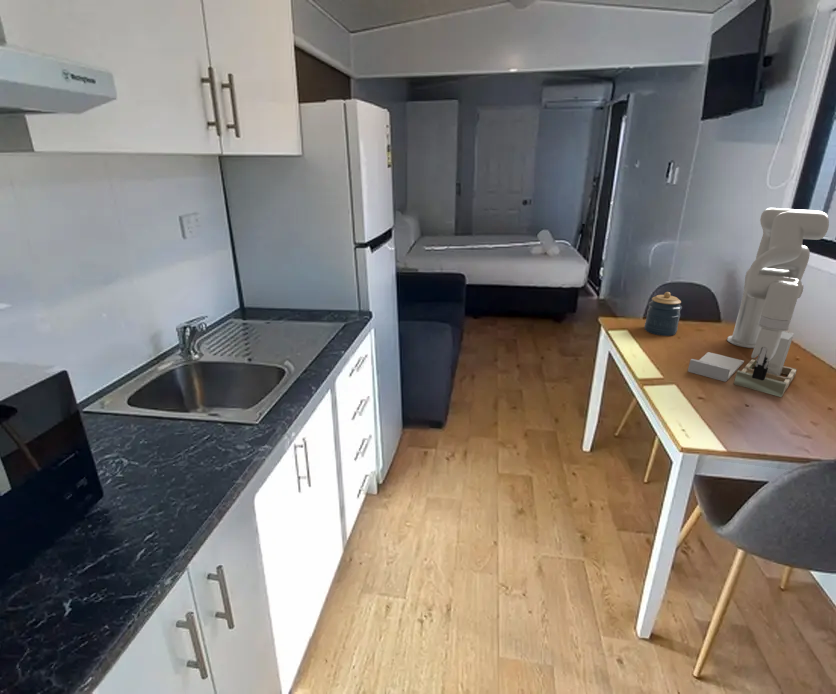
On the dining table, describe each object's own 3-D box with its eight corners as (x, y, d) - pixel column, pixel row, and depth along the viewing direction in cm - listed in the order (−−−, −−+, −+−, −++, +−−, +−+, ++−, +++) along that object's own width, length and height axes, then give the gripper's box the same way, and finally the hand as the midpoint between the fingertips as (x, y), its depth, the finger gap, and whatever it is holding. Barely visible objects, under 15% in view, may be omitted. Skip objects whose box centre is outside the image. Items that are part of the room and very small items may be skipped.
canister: (661, 338, 206) (669, 297, 199) (637, 328, 217) (644, 289, 210) (683, 334, 211) (692, 294, 204) (658, 325, 222) (666, 287, 215)
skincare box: (760, 369, 176) (772, 328, 170) (782, 374, 172) (795, 333, 166) (754, 376, 171) (766, 333, 165) (776, 381, 166) (789, 338, 160)
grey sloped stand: (707, 353, 189) (710, 343, 187) (743, 362, 181) (746, 351, 179) (687, 371, 173) (690, 359, 171) (725, 381, 165) (729, 369, 164)
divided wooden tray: (750, 364, 180) (753, 353, 178) (795, 375, 171) (798, 363, 169) (733, 384, 164) (736, 371, 162) (781, 397, 155) (785, 384, 153)
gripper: (765, 315, 154) (750, 368, 161) (753, 325, 144) (738, 381, 151) (793, 320, 150) (777, 375, 156) (784, 331, 140) (767, 389, 146)
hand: (758, 378), depth 153 cm, fingers closed
